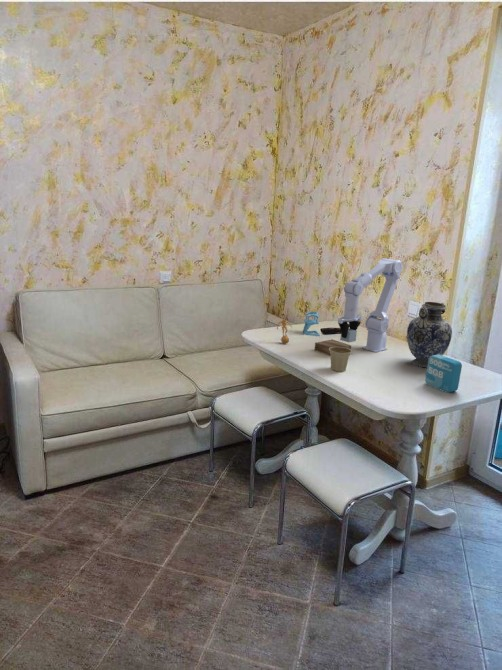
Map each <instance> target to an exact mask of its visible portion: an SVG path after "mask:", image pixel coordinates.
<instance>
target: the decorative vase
mask: <svg viewBox="0 0 502 670" xmlns="http://www.w3.org/2000/svg"><path fill="white" fill-rule="evenodd" d="M421 306H422V307H420V308H419V311H418V315H417V316H416V317H414V318H413V319H412V320H410V321H409V324H408V326H407V330H406V331H407V332H406V340H407V341H406V342H407V346H408V349H409V351H410V354H411V355H412V356H413V357H414V359H413V360H412V361H411V363H412V364H413V365H414V366H416V367H419V366H420V367H419V368H424V367H426V368H425V369H427V366H428V360H429V357H430V356H432V355H442V356H444V354H445V352H447V350H448V348H449V346H450V344H451V340H452V336H453V328H452V325H451V323H450V322H449V321H447V320H446V319H444V318H443V316H442V315H444V314H445V312H446V309H447V308H446V304H445V303H444V302H437V301H425V302H424V304H422V305H421Z"/></svg>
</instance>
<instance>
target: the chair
mask: <svg viewBox="0 0 502 670" xmlns="http://www.w3.org/2000/svg"><path fill="white" fill-rule="evenodd" d="M304 315H305V319H303V321H304V326H303V330H302V332H301V333H302V334H303V335H304V334H306V335H305V336H314V335H315V336H316V337H320V332H318V331H317V330H309V329H310V327H311V326H314V325H319V323H320V322H319V316H320V315H319V312H317V311H309V312H306V313H304ZM312 317H314V318H313V319H310V318H312ZM313 332H314V333H313ZM315 332H316V333H315ZM315 336H314V337H315Z"/></svg>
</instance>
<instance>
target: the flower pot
mask: <svg viewBox="0 0 502 670" xmlns="http://www.w3.org/2000/svg"><path fill="white" fill-rule="evenodd" d="M329 351H330V355H329V356H330V369H331V370H332V371H335V372H345V371H346V370H347V365H348V363H349V357H350V356H351V353H353V352H352V349H351V350H350V349H348V348H344V347H331V348H329Z"/></svg>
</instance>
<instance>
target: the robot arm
mask: <svg viewBox="0 0 502 670" xmlns="http://www.w3.org/2000/svg"><path fill="white" fill-rule="evenodd" d="M403 269H404V267H403V264H402V261H401V260H400V259H391V258H386V257H383V258H381V259H380V260H378V261H377V264H376V265H375V266H373V267H372V268H371V269H370V270H369V271H368V272H362V273H360V275H358V277H355V278H354V279H353V280H351V281H348V282H346V283H345V285H344V287H343V291H344V297H345V303H344V309H343V310H344V313H343V316H342V317H340V318H338V319H337V324H338V326H339V328H340V335H341V334H342V337H343V338H346V337H347V333H348V329H353V330H356V331H357V330H358V328H359V326H360V325H361V321H362V315H358V306H359V299H360V295H361V294H362V293H363V291H364V290H365V288H366V287H368V285H370V284H372V282H373V279H375V278H376V277H378V276H379V275H381V274H382V276H383V277H384V278H385V282H384V285H383V286H382V290H381V294H380V296H379V299H378V302H377V305H376V307H375V309H374V310H373V311H371V312H370V313H369V315H368V317H367V318H366V320H365V323H364V325H365V328H366V331H367V339H366V345H365V346H362V349H364V350H367V351H371V352H374V353H377V352H378V353H379V352H382V351H385V350H388V348H387V347H386V346H387V345H386V344H387V337H388V336H387V332H386V331H387V330H388V327H389V321H390V318H389V317H388V314H387V312H388V309H389V307H390V304H391V302H392V299H393V296H394V293H395V290H396V288H397V285H398V282H399V279H400V277H401V274H402V271H403Z"/></svg>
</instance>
